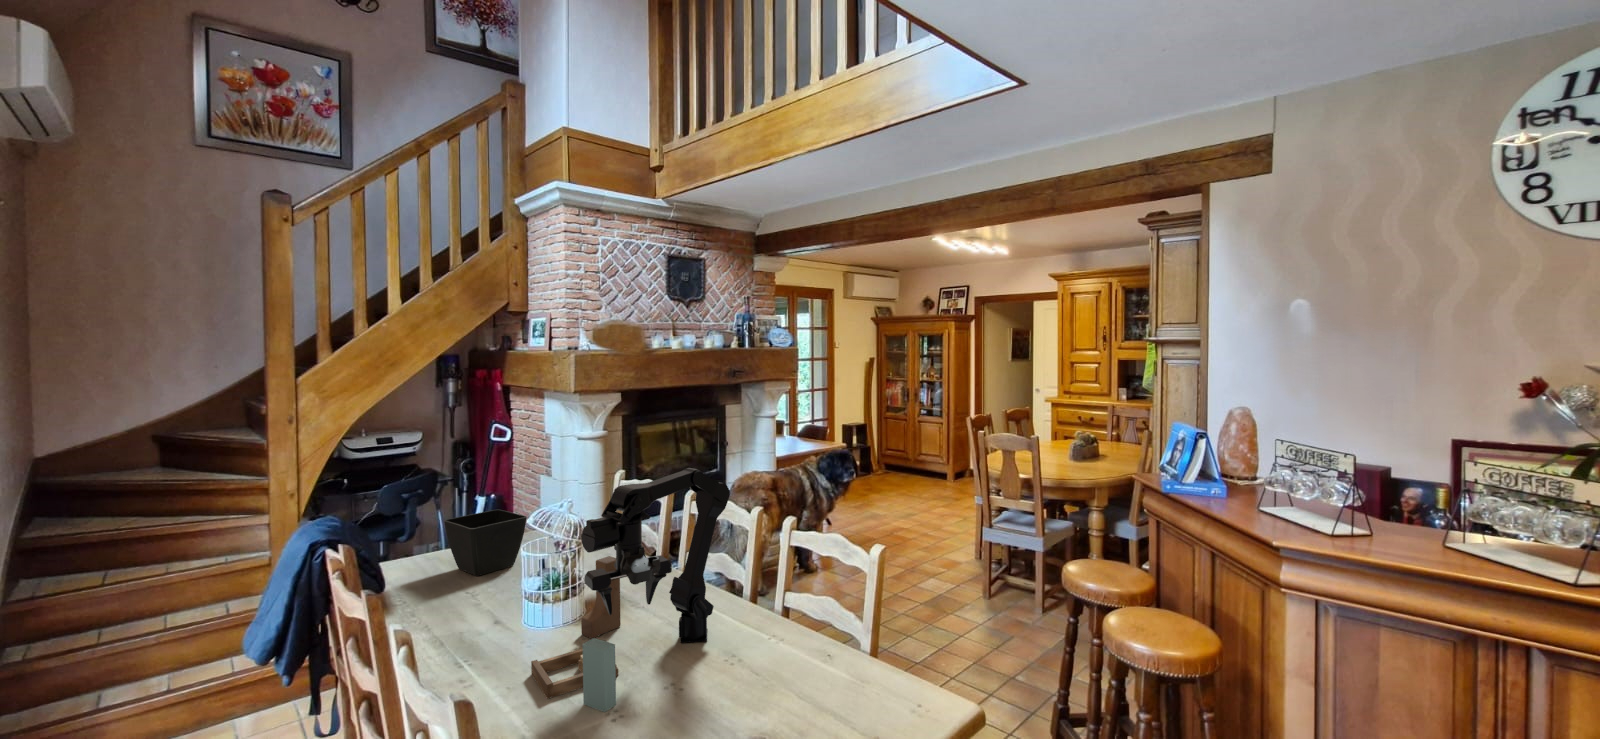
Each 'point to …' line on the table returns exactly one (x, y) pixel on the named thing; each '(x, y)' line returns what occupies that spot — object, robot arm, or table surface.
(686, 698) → the table surface
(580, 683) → the rack
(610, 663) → the tall grey-green pillar
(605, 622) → the wooden block
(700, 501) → the robot arm
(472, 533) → the flower pot
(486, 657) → the table surface
